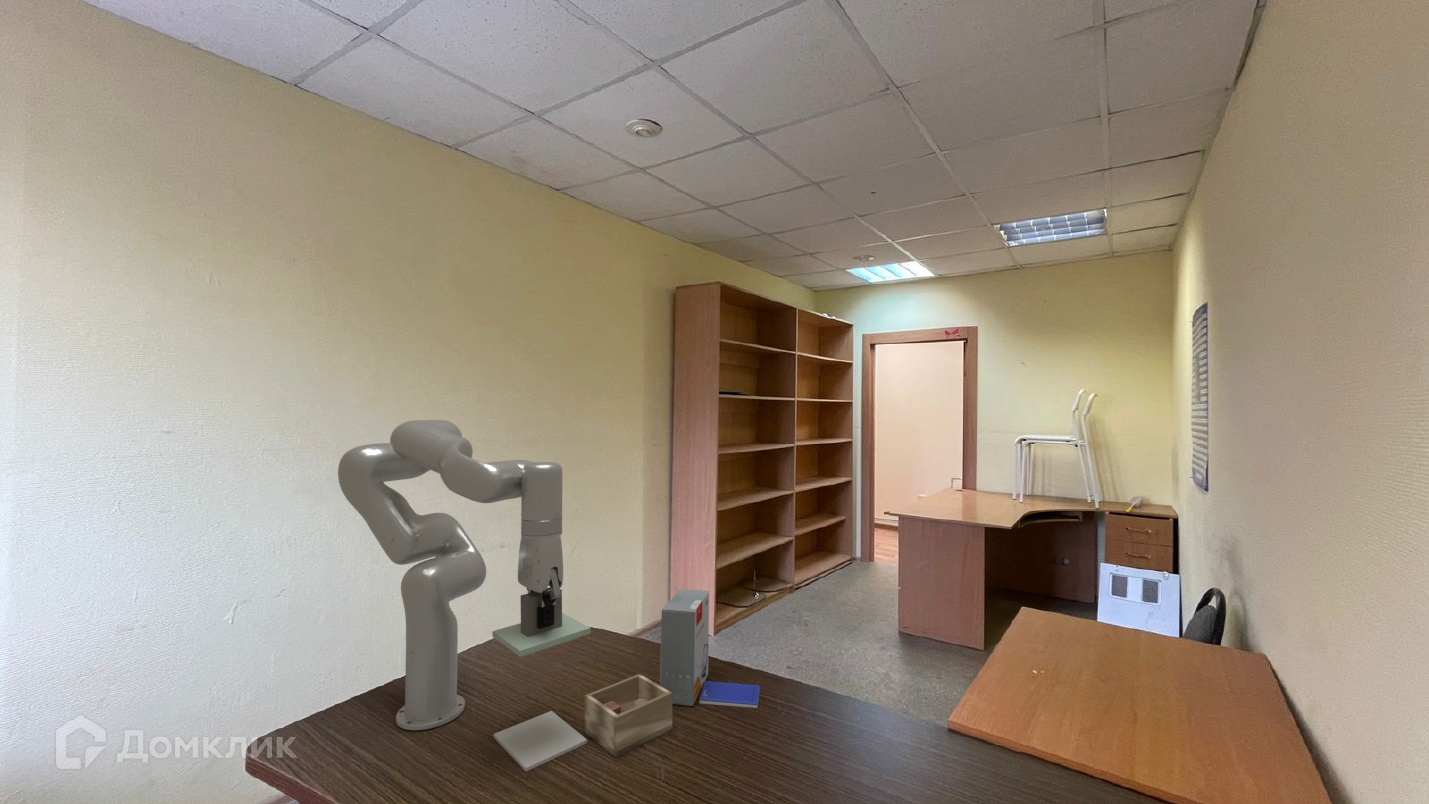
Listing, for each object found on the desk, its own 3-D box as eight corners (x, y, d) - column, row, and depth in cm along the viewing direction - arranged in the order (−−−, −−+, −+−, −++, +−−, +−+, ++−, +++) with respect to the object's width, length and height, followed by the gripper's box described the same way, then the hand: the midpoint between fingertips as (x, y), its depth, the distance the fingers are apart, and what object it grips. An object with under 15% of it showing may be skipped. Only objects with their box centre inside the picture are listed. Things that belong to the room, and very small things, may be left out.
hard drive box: (693, 708, 115) (694, 612, 116) (659, 704, 117) (659, 609, 117) (709, 673, 131) (709, 589, 131) (678, 670, 132) (678, 587, 133)
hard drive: (699, 698, 117) (757, 703, 115) (705, 680, 125) (759, 684, 123) (699, 705, 117) (757, 710, 115) (705, 687, 125) (759, 691, 123)
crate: (584, 732, 106) (584, 695, 107) (639, 707, 115) (639, 673, 116) (616, 757, 99) (616, 718, 99) (672, 729, 108) (672, 692, 108)
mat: (493, 737, 105) (493, 734, 105) (551, 713, 113) (551, 710, 113) (525, 771, 95) (525, 768, 95) (587, 743, 103) (587, 739, 103)
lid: (492, 641, 104) (492, 594, 104) (560, 621, 114) (559, 577, 114) (520, 662, 95) (519, 610, 95) (590, 638, 105) (590, 591, 105)
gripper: (504, 524, 108) (504, 618, 108) (543, 537, 96) (542, 642, 96) (540, 519, 113) (540, 608, 113) (581, 530, 102) (580, 631, 101)
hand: (541, 623), depth 104 cm, fingers closed on lid, 2 cm apart
